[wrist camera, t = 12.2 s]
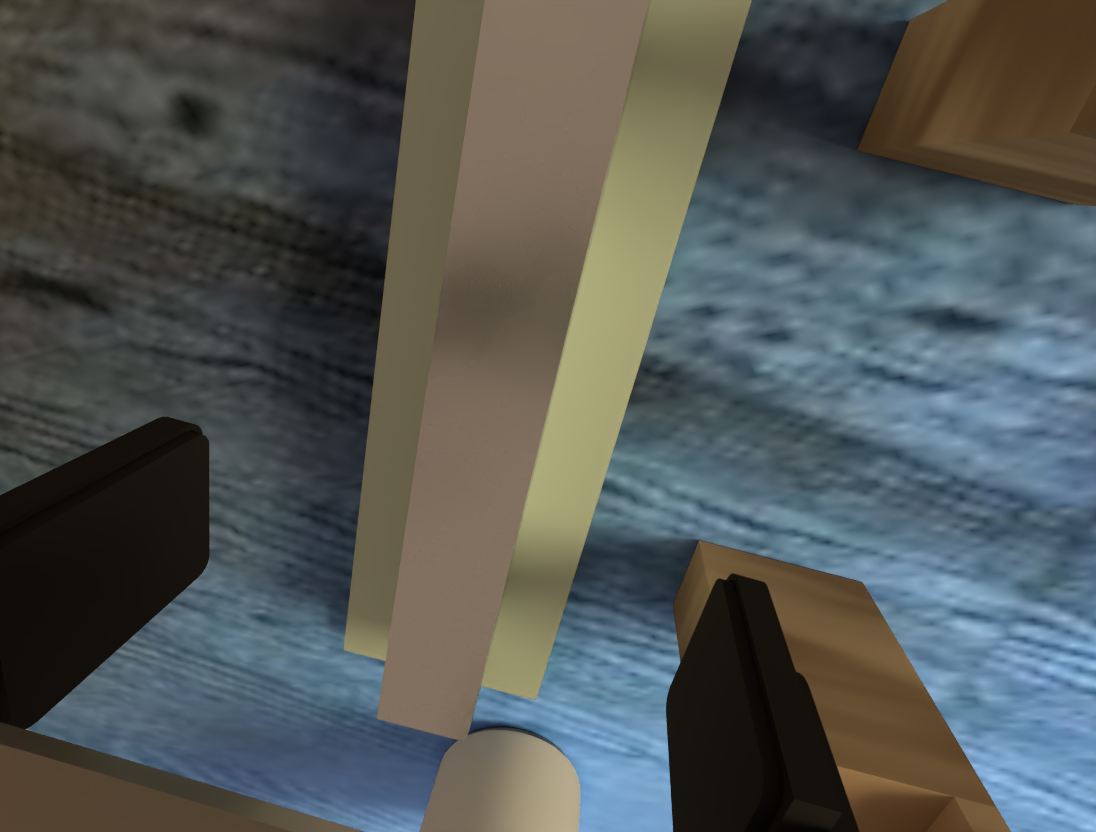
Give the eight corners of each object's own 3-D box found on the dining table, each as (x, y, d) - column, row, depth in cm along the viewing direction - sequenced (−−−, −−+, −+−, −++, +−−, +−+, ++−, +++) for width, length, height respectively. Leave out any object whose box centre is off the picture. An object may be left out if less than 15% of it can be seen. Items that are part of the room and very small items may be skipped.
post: (827, 643, 22) (973, 971, 13) (673, 604, 22) (711, 903, 13) (862, 582, 21) (1049, 896, 12) (698, 540, 21) (760, 820, 12)
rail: (490, 649, 23) (466, 742, 19) (415, 630, 23) (376, 718, 19) (659, -30, 14) (673, -103, 10) (535, -60, 14) (505, -143, 10)
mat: (539, 680, 24) (536, 700, 23) (353, 631, 24) (343, 649, 23) (775, -94, 14) (786, -112, 13) (449, -173, 14) (437, -197, 13)
